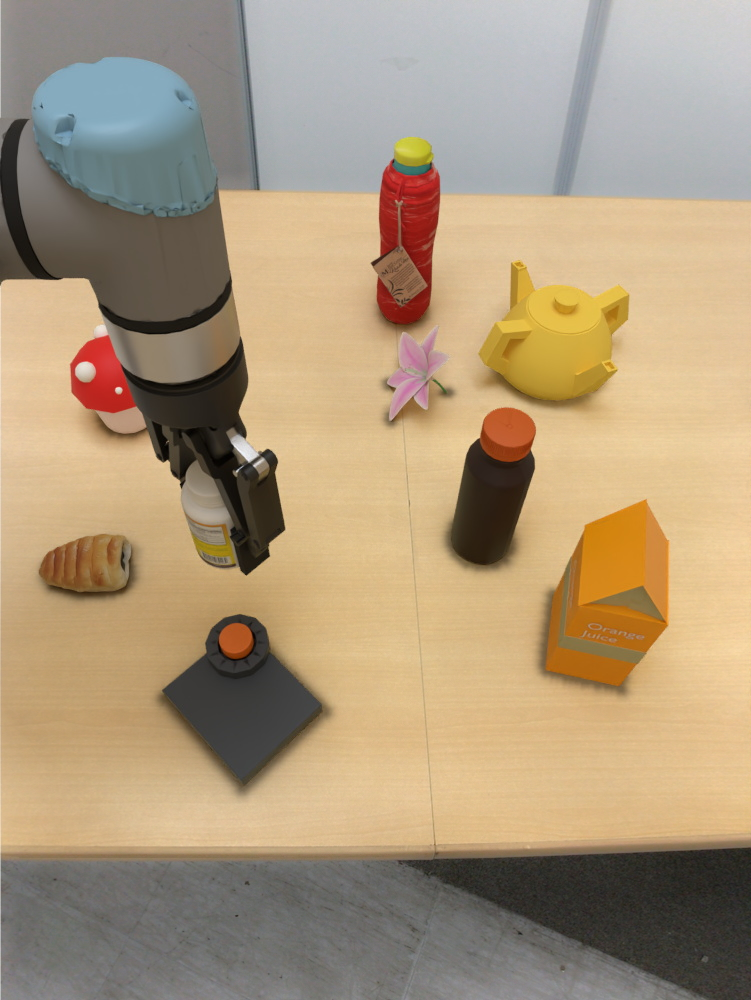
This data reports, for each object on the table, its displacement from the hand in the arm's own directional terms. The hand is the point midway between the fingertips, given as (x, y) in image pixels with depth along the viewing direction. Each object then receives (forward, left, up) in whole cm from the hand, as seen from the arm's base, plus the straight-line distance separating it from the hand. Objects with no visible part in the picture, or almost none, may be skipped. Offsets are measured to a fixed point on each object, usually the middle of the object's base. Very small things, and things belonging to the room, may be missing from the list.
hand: (231, 541), depth 64 cm
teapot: (-1, +53, -17) cm, 55 cm away
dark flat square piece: (+6, -6, -17) cm, 19 cm away
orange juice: (+26, +23, -17) cm, 39 cm away
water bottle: (-21, +45, -17) cm, 53 cm away
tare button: (+2, -3, -13) cm, 14 cm away
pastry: (-17, -8, -17) cm, 25 cm away
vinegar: (+10, +25, -17) cm, 32 cm away
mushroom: (-33, +8, -17) cm, 38 cm away
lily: (-10, +36, -17) cm, 41 cm away
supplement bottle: (0, 0, 0) cm, 1 cm away
